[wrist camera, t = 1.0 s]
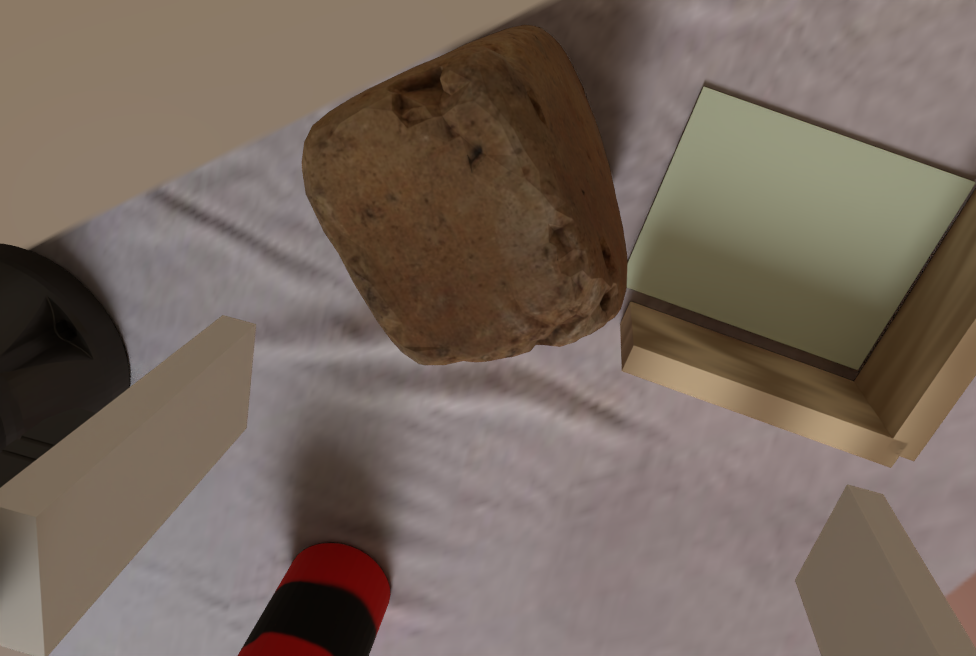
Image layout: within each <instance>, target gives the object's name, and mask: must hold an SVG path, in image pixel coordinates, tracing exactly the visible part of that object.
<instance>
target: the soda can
mask: <svg viewBox="0 0 976 656" xmlns="http://www.w3.org/2000/svg"><path fill="white" fill-rule="evenodd" d="M389 599H390V587H389V583H388V580H387V578H386V576H385V574H384V572H383V571H382V569H381V568H380V567H379V565H378V564H377V563H376V562H375V561H374V560H373V559H372V558H371V557H370V556H369V555H367V554H365V553H364V552H362V551H361V550H359V549H356V548H354V547H352V546H348V545H345V544H339V543H323V544H318V545H314V546H311V547H309V548H306V549H304V550H303V551H302V552H301V553H299V554H298V555H297V557H296V558H295V559H294V561H293V562H292V564H291V566H290V567H289V569H288V571H287V573H286V574H285V576H284V578H283V579H282V581H281V583H280V584H279V586H278V588H277V590H276V591H275V593H274V595H273V596H272V598H271V600H270V601H269V603H268V605H267V607H266V608H265V610H264V612H263V613H262V615H261V617H260V618H259V620H258V622H257V624H256V625H255V627H254V629H253V630H252V632H251V634H250V635H249V637H248V639H247V641H246V642H245V644H244V646H243V647H242V649H241V651H240V652H239V654H238V656H369V653H370V651H371V648H372V646H373V643H374V640H375V638H376V635H377V632H378V630H379V627H380V625H381V622H382V619H383V617H384V614H385V612H386V609H387V606H388V604H389Z"/></svg>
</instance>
